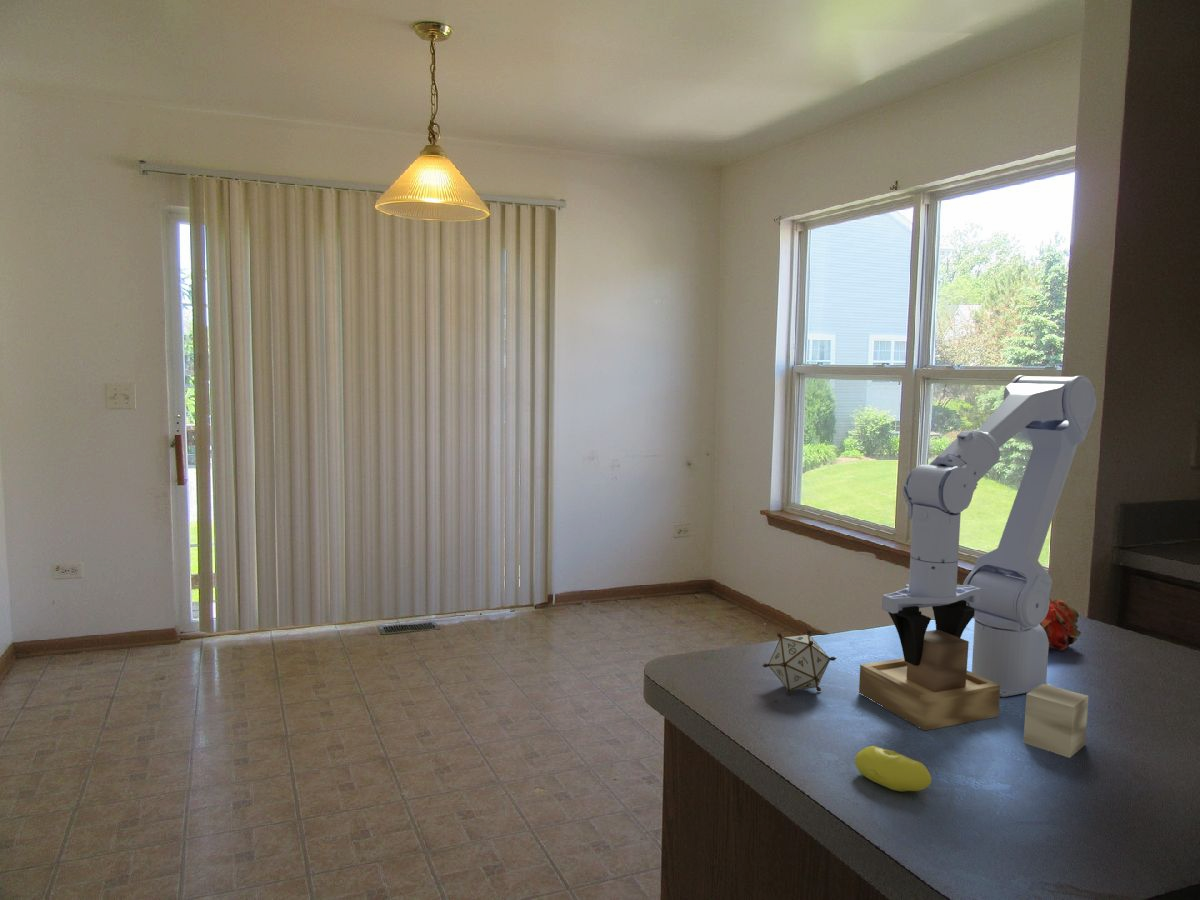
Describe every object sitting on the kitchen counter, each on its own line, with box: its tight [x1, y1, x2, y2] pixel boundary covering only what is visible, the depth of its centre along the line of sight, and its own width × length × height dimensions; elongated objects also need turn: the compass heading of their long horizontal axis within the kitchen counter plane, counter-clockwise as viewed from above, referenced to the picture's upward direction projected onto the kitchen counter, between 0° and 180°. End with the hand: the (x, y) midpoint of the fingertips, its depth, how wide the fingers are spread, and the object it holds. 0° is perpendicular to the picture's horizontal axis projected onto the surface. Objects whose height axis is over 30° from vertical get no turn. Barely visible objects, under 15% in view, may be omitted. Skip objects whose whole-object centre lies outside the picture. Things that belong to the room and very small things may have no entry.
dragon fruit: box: [1040, 596, 1082, 651], centre depth 129 cm, size 8×8×12 cm
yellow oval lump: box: [854, 745, 932, 793], centre depth 85 cm, size 4×8×4 cm, turn 44°
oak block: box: [858, 657, 1001, 731], centre depth 106 cm, size 12×12×4 cm
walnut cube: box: [906, 629, 970, 692], centre depth 104 cm, size 5×5×6 cm
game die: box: [761, 628, 837, 697], centre depth 110 cm, size 9×8×10 cm
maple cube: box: [1022, 684, 1089, 759], centre depth 95 cm, size 5×5×6 cm
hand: (928, 660), depth 105 cm, fingers closed on walnut cube, 5 cm apart
